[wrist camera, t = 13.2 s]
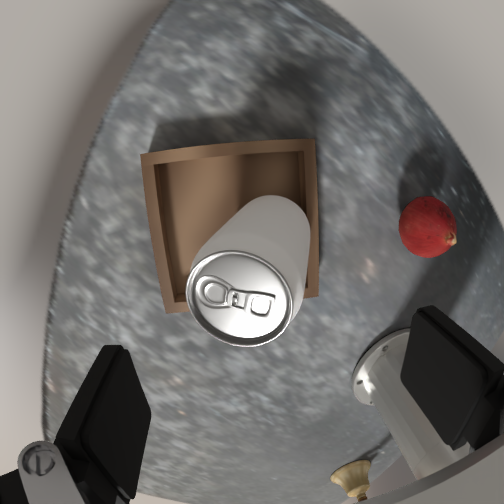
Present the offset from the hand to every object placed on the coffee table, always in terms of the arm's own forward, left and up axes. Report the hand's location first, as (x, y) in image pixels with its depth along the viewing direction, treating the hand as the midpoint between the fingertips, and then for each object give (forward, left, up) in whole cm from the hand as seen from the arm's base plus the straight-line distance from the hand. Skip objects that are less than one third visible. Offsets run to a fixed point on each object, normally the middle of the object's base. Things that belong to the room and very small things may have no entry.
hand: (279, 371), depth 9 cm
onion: (-18, +1, -20) cm, 26 cm away
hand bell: (-17, +49, -20) cm, 55 cm away
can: (-3, 0, -18) cm, 18 cm away
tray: (0, 0, -19) cm, 19 cm away
